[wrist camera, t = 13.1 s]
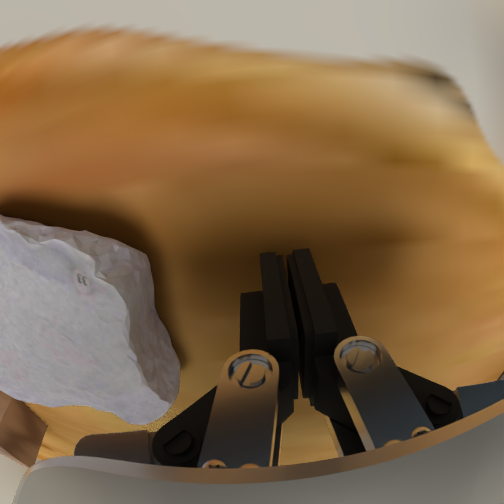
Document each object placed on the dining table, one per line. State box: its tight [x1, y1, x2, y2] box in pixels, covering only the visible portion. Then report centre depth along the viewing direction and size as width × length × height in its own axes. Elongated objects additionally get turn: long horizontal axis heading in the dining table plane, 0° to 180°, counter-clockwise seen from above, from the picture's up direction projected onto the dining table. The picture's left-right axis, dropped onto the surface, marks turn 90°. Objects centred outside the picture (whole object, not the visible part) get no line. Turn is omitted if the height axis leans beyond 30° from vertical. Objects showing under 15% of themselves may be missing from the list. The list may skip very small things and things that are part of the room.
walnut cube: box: [0, 390, 47, 468], centre depth 17 cm, size 6×6×6 cm
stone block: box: [0, 214, 181, 425], centre depth 10 cm, size 12×5×10 cm
